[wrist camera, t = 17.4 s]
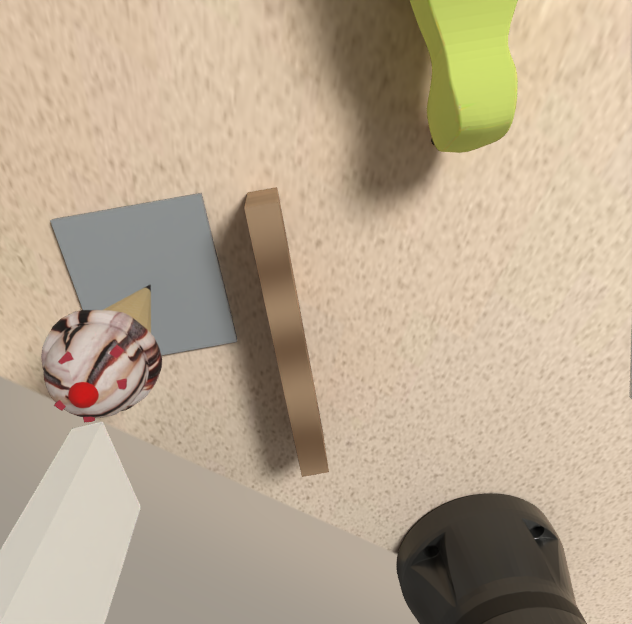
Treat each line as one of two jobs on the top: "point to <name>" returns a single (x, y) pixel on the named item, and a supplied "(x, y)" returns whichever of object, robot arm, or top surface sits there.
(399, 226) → the top surface
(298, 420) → the walnut wall
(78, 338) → the ice cream cone
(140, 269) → the grey mat
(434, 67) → the toy
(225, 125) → the top surface
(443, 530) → the robot arm
